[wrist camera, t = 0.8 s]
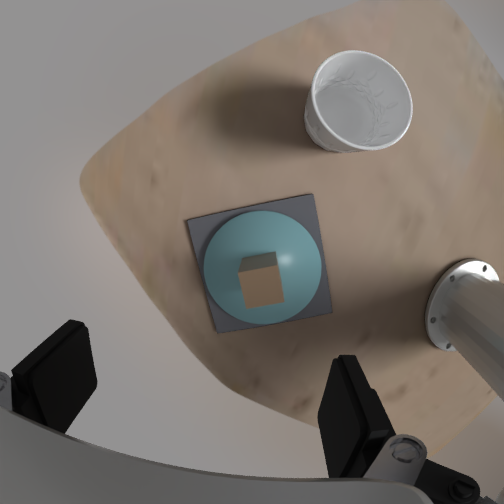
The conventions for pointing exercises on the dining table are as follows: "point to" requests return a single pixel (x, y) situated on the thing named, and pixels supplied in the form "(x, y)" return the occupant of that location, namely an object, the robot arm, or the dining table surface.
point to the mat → (292, 207)
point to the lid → (262, 267)
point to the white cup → (357, 103)
